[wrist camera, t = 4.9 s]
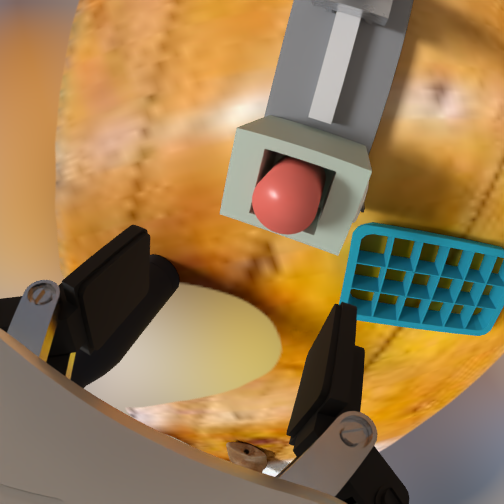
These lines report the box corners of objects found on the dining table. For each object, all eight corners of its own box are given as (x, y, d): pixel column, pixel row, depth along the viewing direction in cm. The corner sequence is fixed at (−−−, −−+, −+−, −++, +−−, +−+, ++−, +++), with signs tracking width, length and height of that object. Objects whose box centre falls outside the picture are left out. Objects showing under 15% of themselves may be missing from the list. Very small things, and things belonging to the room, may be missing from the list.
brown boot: (274, 468, 69) (258, 515, 56) (231, 457, 71) (212, 502, 59) (278, 448, 61) (259, 504, 48) (228, 436, 64) (205, 489, 51)
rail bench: (419, -29, 16) (445, -74, 7) (350, 205, 30) (347, 258, 22) (313, -59, 17) (292, -112, 9) (254, 172, 32) (213, 211, 23)
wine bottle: (172, 253, 40) (11, 438, 16) (185, 294, 43) (55, 474, 19) (135, 254, 42) (-17, 410, 18) (149, 291, 45) (21, 447, 21)
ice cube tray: (354, 210, 31) (354, 222, 28) (515, 242, 26) (526, 255, 23) (338, 300, 37) (336, 316, 34) (481, 320, 32) (487, 336, 29)
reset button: (332, 161, 22) (326, 185, 17) (316, 207, 24) (305, 243, 20) (281, 145, 23) (260, 163, 18) (269, 191, 25) (246, 222, 20)
